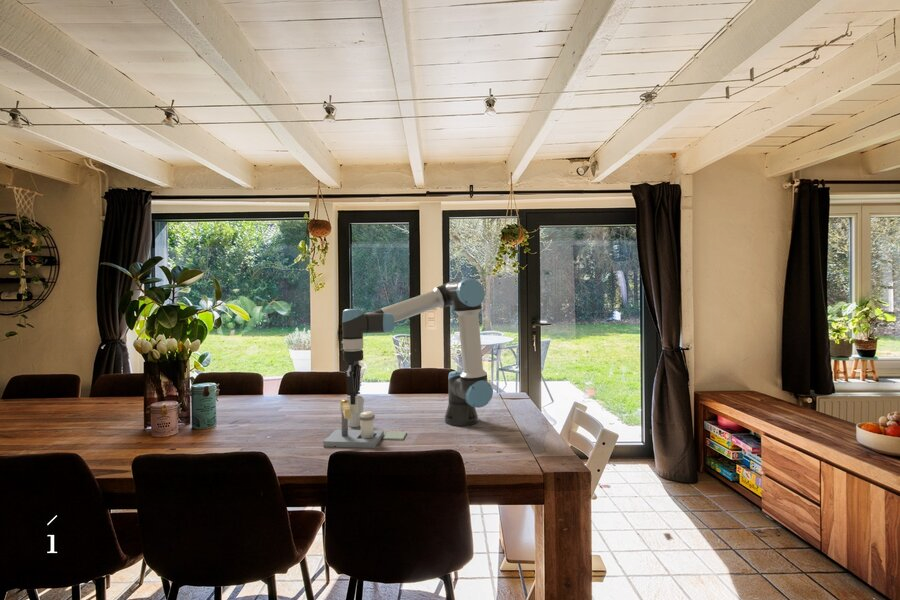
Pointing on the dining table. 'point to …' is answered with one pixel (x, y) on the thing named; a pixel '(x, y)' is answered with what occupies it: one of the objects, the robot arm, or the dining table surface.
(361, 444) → the socket board
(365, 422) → the cream banded cylinder
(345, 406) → the clip
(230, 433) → the dining table surface
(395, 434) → the mat
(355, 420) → the cup
